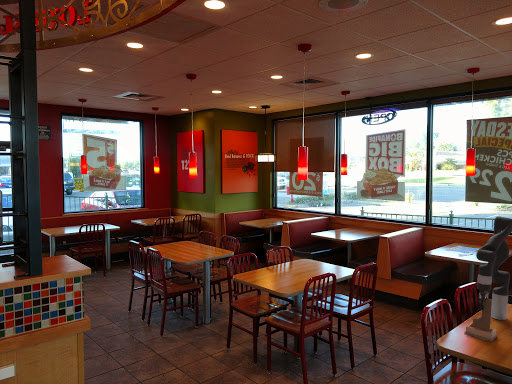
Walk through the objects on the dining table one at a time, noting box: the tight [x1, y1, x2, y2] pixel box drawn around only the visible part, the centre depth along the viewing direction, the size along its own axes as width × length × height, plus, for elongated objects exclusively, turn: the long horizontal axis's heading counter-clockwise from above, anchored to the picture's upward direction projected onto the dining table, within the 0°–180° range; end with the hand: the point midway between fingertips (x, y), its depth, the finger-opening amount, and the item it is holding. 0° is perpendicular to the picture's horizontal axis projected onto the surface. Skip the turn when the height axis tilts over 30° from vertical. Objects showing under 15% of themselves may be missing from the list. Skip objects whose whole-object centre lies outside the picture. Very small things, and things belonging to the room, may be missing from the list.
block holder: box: [464, 321, 498, 343], centre depth 239 cm, size 12×15×4 cm
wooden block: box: [472, 297, 492, 329], centre depth 238 cm, size 9×4×18 cm, turn 51°
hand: (482, 308), depth 238 cm, fingers closed on wooden block, 4 cm apart
